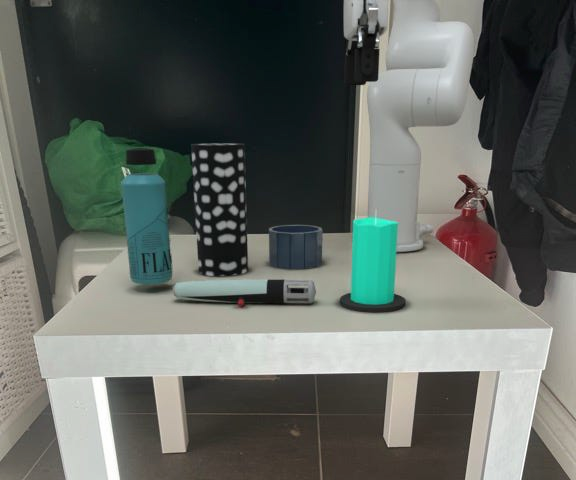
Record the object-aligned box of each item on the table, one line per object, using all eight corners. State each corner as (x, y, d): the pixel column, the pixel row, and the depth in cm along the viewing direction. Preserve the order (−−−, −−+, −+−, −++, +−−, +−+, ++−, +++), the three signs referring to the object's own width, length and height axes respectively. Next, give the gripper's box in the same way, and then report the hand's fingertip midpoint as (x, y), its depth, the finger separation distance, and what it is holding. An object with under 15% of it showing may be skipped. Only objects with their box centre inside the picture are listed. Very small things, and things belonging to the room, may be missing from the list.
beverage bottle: (140, 296, 93) (125, 149, 85) (124, 287, 98) (109, 148, 90) (181, 290, 96) (171, 148, 88) (163, 281, 101) (152, 146, 94)
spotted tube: (188, 273, 107) (180, 144, 99) (216, 263, 114) (210, 143, 106) (231, 278, 103) (225, 145, 95) (257, 268, 110) (254, 143, 102)
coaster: (376, 291, 95) (376, 287, 94) (419, 305, 88) (419, 301, 87) (326, 301, 90) (326, 296, 90) (368, 316, 83) (368, 311, 83)
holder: (302, 256, 119) (302, 223, 117) (332, 264, 112) (332, 229, 110) (259, 262, 115) (258, 228, 112) (288, 271, 108) (287, 235, 105)
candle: (347, 293, 91) (349, 206, 87) (389, 292, 92) (393, 206, 87) (354, 305, 86) (357, 212, 81) (398, 304, 86) (404, 212, 81)
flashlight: (167, 295, 87) (315, 297, 85) (172, 273, 90) (316, 274, 88) (171, 313, 89) (315, 314, 88) (177, 291, 92) (316, 292, 91)
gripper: (407, -75, 79) (399, 80, 85) (380, -43, 94) (375, 86, 101) (346, -76, 78) (342, 80, 85) (329, -43, 94) (327, 86, 101)
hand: (360, 83), depth 93 cm, fingers open, 9 cm apart
